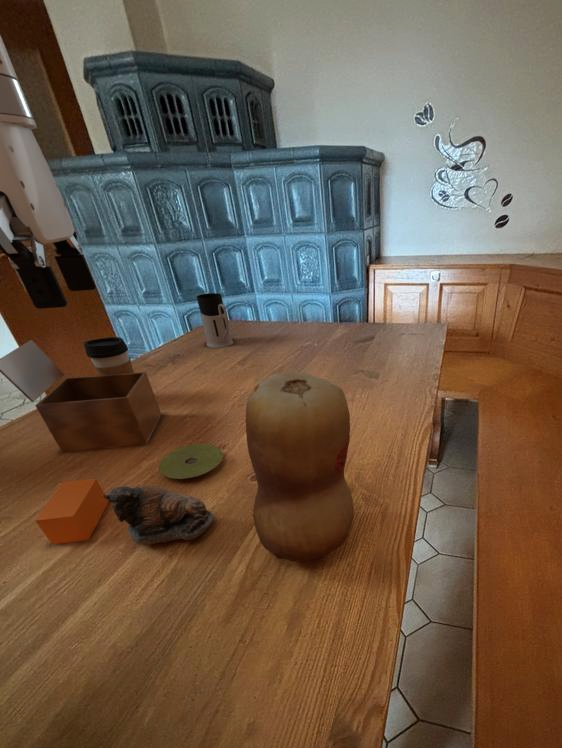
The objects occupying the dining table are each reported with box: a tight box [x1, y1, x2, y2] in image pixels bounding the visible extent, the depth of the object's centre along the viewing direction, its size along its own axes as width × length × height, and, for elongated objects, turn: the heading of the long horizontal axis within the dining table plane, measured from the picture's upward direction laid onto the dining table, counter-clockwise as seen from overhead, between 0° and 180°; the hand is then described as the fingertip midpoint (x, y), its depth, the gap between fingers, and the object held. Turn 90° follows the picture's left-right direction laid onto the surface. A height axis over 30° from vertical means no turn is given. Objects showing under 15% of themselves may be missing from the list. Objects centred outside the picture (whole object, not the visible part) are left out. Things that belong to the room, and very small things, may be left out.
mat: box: [158, 443, 224, 480], centre depth 71 cm, size 11×11×2 cm
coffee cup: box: [83, 336, 135, 376], centre depth 90 cm, size 8×8×15 cm
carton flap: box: [0, 339, 65, 403], centre depth 72 cm, size 8×13×1 cm
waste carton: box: [34, 371, 162, 453], centre depth 80 cm, size 16×13×10 cm
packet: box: [34, 478, 110, 545], centre depth 59 cm, size 5×9×5 cm, turn 10°
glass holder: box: [196, 292, 234, 349], centre depth 123 cm, size 9×14×15 cm, turn 43°
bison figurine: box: [103, 484, 214, 546], centre depth 55 cm, size 12×7×10 cm, turn 108°
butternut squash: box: [245, 371, 355, 562], centre depth 49 cm, size 14×13×25 cm
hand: (69, 297), depth 47 cm, fingers open, 9 cm apart
